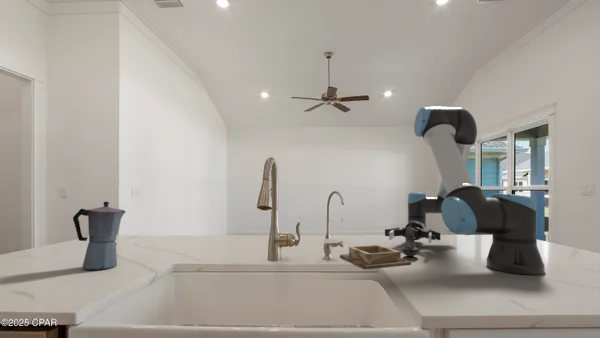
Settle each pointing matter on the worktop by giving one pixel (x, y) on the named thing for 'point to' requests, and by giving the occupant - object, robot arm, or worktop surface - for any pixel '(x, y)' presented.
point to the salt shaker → (410, 245)
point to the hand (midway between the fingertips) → (409, 237)
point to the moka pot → (100, 236)
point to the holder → (374, 256)
